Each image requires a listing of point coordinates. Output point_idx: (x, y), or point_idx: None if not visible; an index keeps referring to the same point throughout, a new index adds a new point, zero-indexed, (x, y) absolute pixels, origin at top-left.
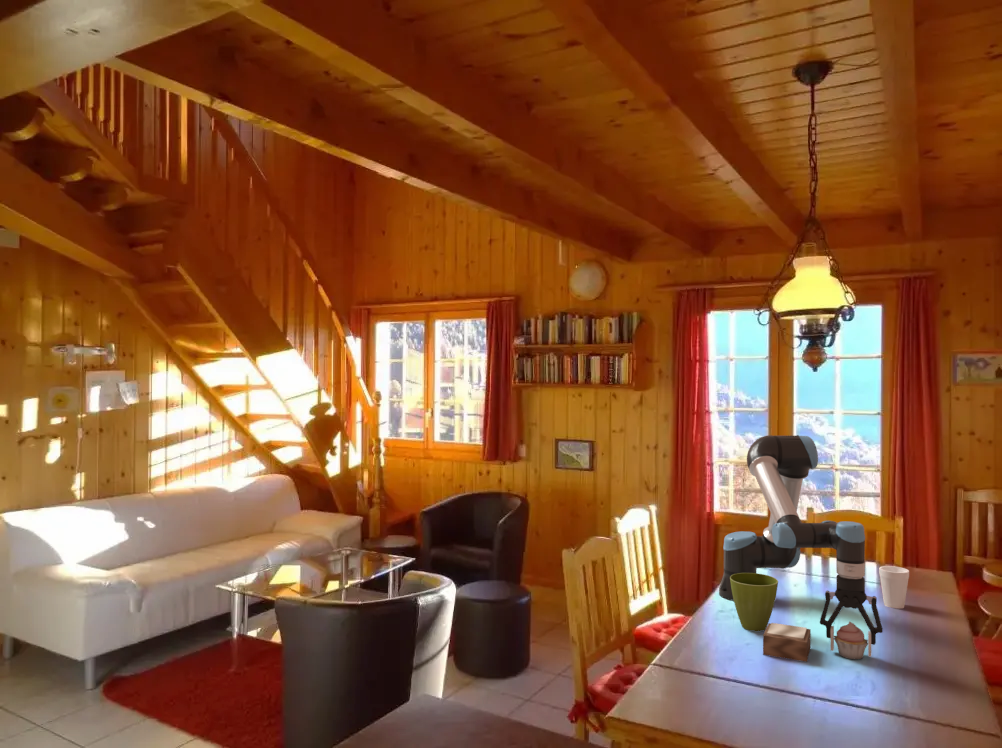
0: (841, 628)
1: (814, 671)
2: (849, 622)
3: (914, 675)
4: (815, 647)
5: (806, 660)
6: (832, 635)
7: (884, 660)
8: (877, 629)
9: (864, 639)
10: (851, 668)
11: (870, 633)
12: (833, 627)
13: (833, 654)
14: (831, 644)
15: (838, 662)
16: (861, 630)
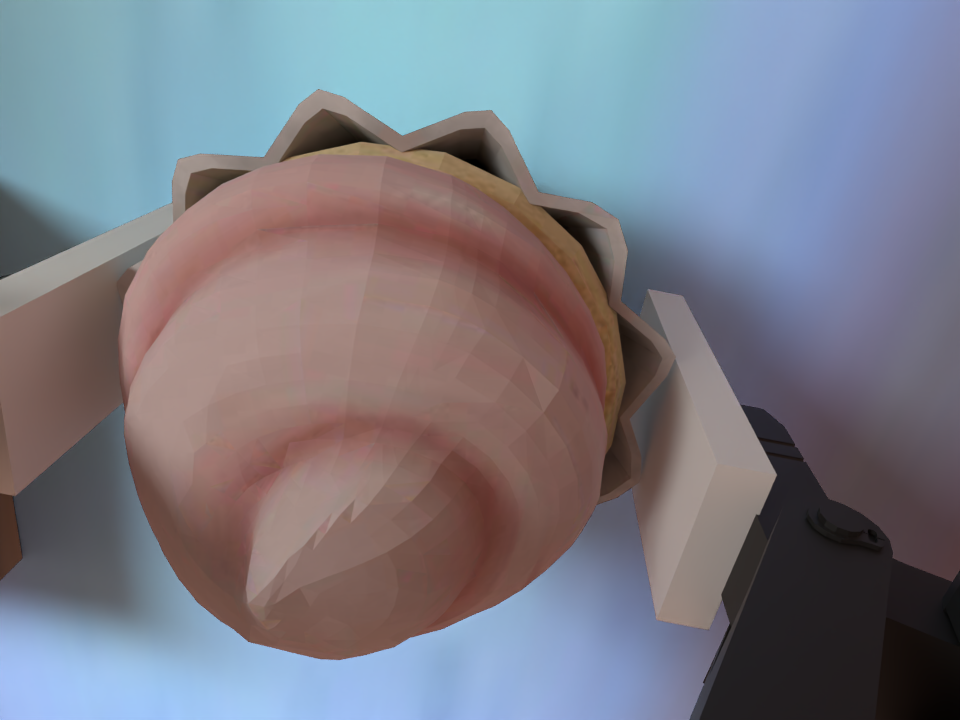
0: (153, 525)
1: (116, 709)
2: (256, 621)
3: None
4: (4, 99)
5: (9, 566)
6: (85, 424)
7: (809, 337)
8: (888, 709)
9: (613, 367)
10: None
11: (710, 593)
12: (2, 419)
13: None
14: None
15: None
16: (564, 475)
